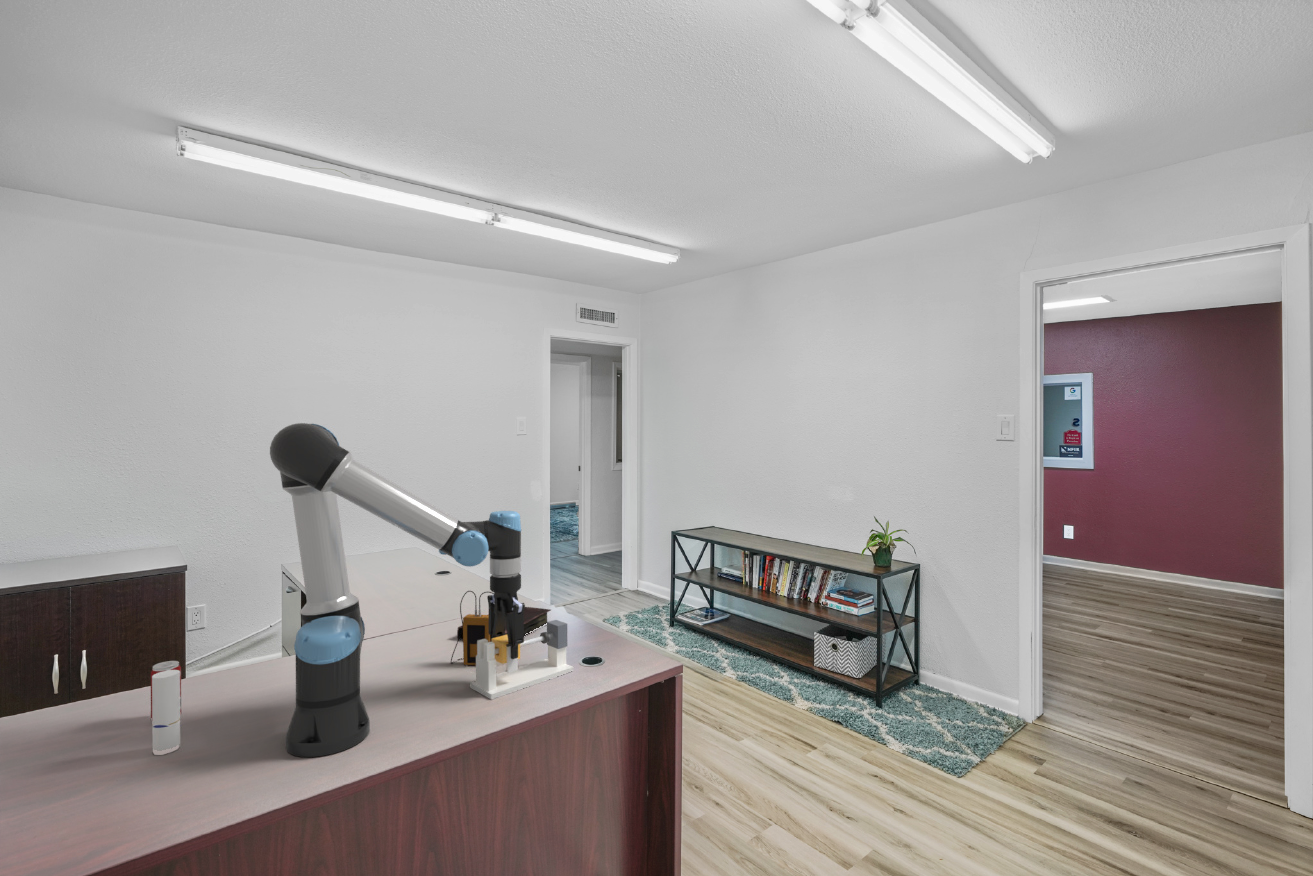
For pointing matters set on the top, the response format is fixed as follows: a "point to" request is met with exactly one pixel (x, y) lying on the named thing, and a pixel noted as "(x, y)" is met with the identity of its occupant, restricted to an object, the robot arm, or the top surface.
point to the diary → (526, 620)
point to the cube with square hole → (502, 648)
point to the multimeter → (473, 633)
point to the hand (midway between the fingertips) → (505, 667)
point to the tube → (166, 709)
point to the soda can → (165, 667)
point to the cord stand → (525, 675)
